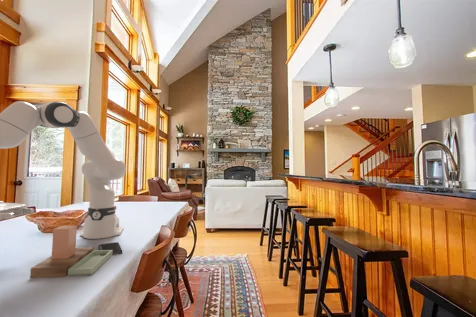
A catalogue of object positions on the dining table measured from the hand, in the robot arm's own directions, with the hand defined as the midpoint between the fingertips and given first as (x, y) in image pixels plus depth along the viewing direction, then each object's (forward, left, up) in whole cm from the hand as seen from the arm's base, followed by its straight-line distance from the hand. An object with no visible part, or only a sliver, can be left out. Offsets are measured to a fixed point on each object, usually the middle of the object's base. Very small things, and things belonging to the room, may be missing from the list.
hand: (22, 213), depth 83 cm
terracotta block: (0, +14, -15) cm, 20 cm away
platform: (0, +15, -18) cm, 23 cm away
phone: (-15, +24, -18) cm, 34 cm away
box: (0, +24, -18) cm, 30 cm away
